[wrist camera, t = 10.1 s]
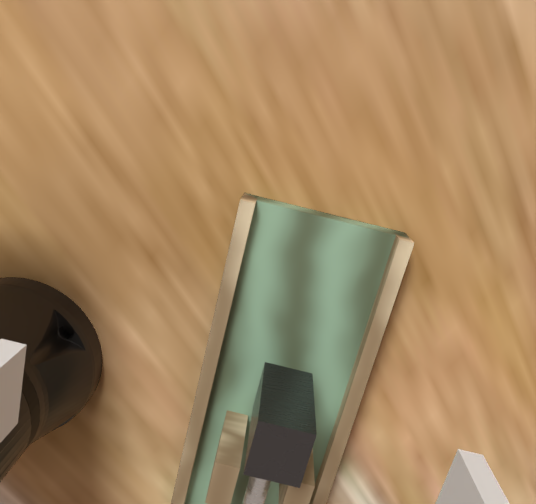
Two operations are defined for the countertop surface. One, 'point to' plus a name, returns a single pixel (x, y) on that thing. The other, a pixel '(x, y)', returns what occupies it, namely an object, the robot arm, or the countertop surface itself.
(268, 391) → the hammer
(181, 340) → the countertop surface
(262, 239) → the tray
